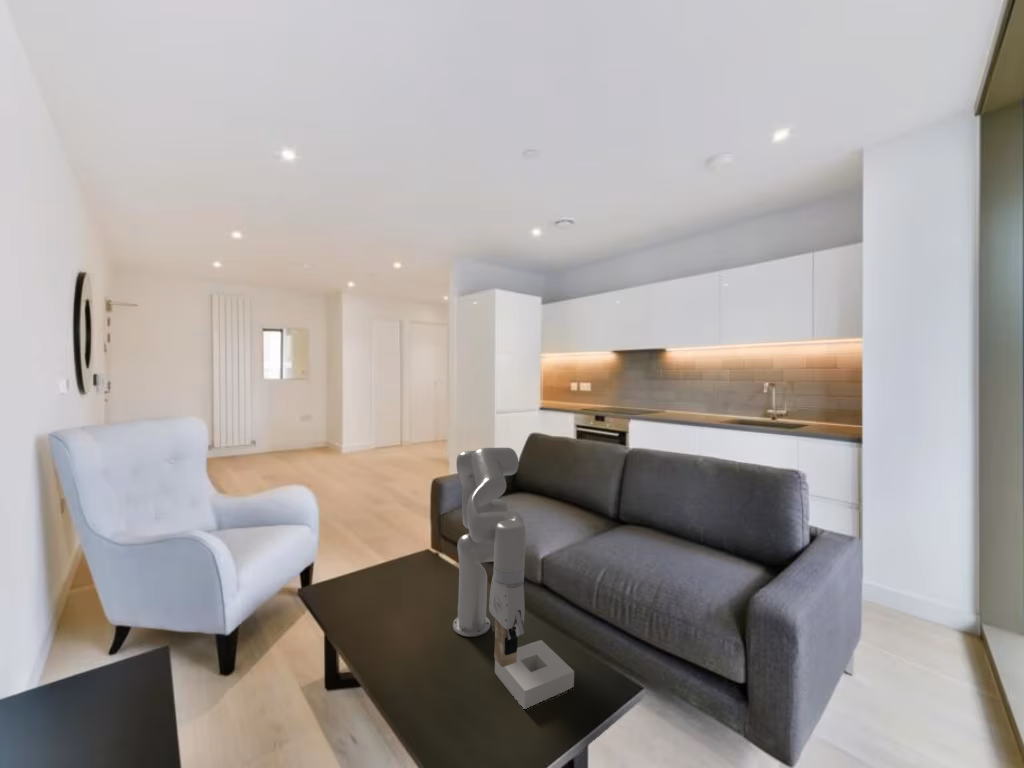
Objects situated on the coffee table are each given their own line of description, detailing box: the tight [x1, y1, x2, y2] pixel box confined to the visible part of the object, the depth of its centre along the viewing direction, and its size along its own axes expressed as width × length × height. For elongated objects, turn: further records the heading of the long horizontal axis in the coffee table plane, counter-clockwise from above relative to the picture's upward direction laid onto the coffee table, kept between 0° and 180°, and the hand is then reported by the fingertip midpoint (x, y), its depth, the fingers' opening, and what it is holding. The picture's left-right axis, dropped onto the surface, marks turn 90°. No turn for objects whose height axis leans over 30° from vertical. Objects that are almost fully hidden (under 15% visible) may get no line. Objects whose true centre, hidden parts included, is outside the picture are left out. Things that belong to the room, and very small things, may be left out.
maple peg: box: [493, 618, 517, 667], centre depth 105 cm, size 4×4×10 cm
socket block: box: [494, 639, 575, 710], centre depth 121 cm, size 16×16×5 cm
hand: (506, 646), depth 105 cm, fingers closed on maple peg, 4 cm apart
